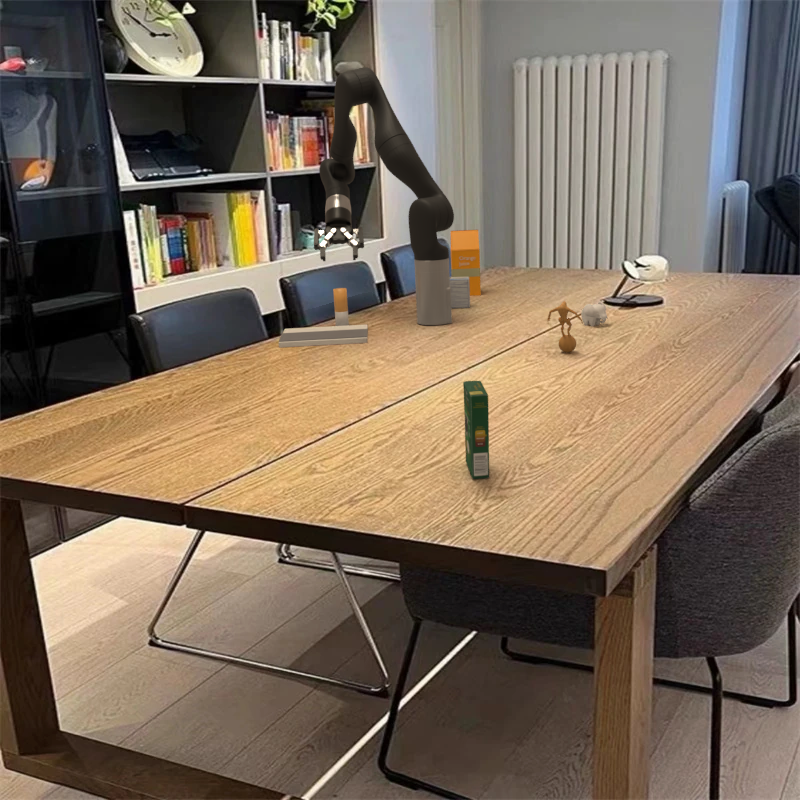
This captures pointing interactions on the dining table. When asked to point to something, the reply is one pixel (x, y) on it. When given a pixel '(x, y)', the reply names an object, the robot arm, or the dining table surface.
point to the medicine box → (460, 292)
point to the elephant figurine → (594, 314)
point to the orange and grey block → (341, 306)
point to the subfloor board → (324, 335)
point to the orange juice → (466, 258)
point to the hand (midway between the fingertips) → (339, 259)
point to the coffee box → (476, 429)
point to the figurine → (566, 341)
